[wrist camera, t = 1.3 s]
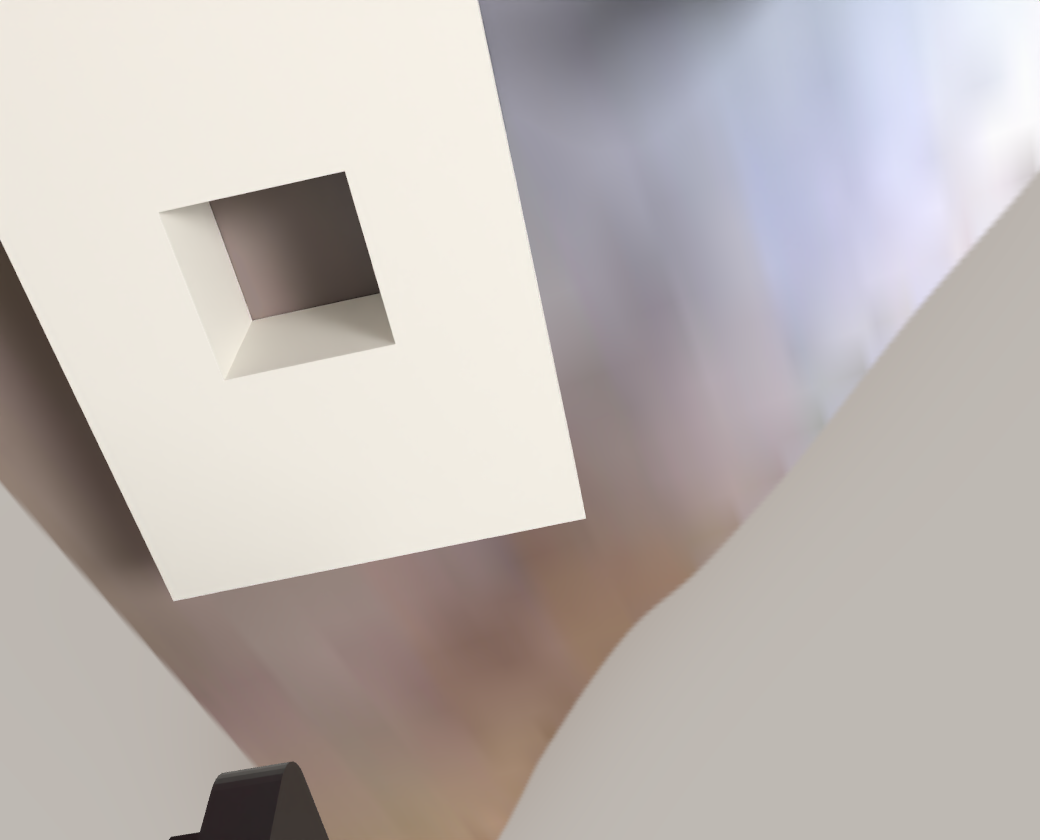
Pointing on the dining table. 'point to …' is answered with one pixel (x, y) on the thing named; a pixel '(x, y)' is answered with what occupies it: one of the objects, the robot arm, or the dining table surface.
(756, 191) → the dining table surface
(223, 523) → the hole block
